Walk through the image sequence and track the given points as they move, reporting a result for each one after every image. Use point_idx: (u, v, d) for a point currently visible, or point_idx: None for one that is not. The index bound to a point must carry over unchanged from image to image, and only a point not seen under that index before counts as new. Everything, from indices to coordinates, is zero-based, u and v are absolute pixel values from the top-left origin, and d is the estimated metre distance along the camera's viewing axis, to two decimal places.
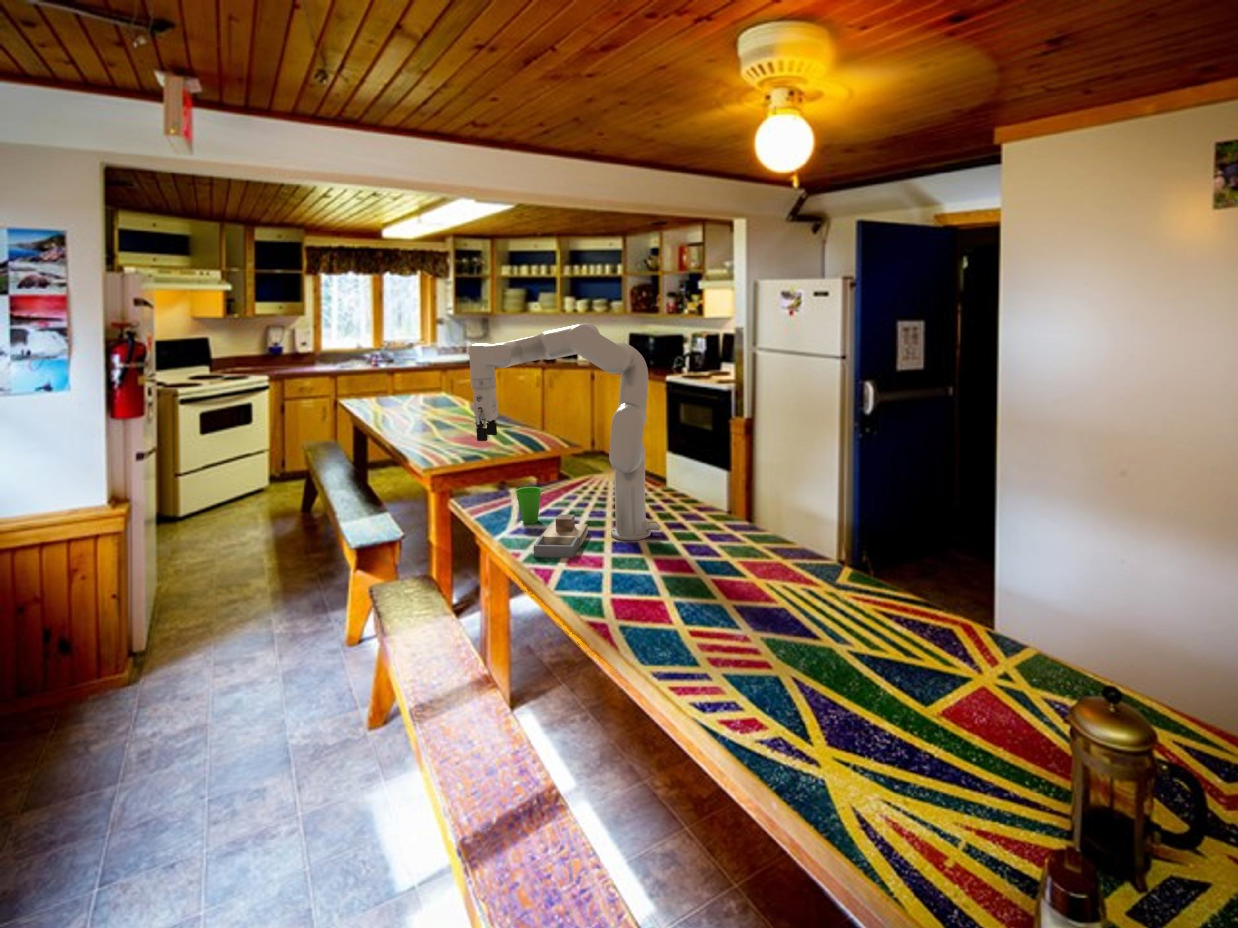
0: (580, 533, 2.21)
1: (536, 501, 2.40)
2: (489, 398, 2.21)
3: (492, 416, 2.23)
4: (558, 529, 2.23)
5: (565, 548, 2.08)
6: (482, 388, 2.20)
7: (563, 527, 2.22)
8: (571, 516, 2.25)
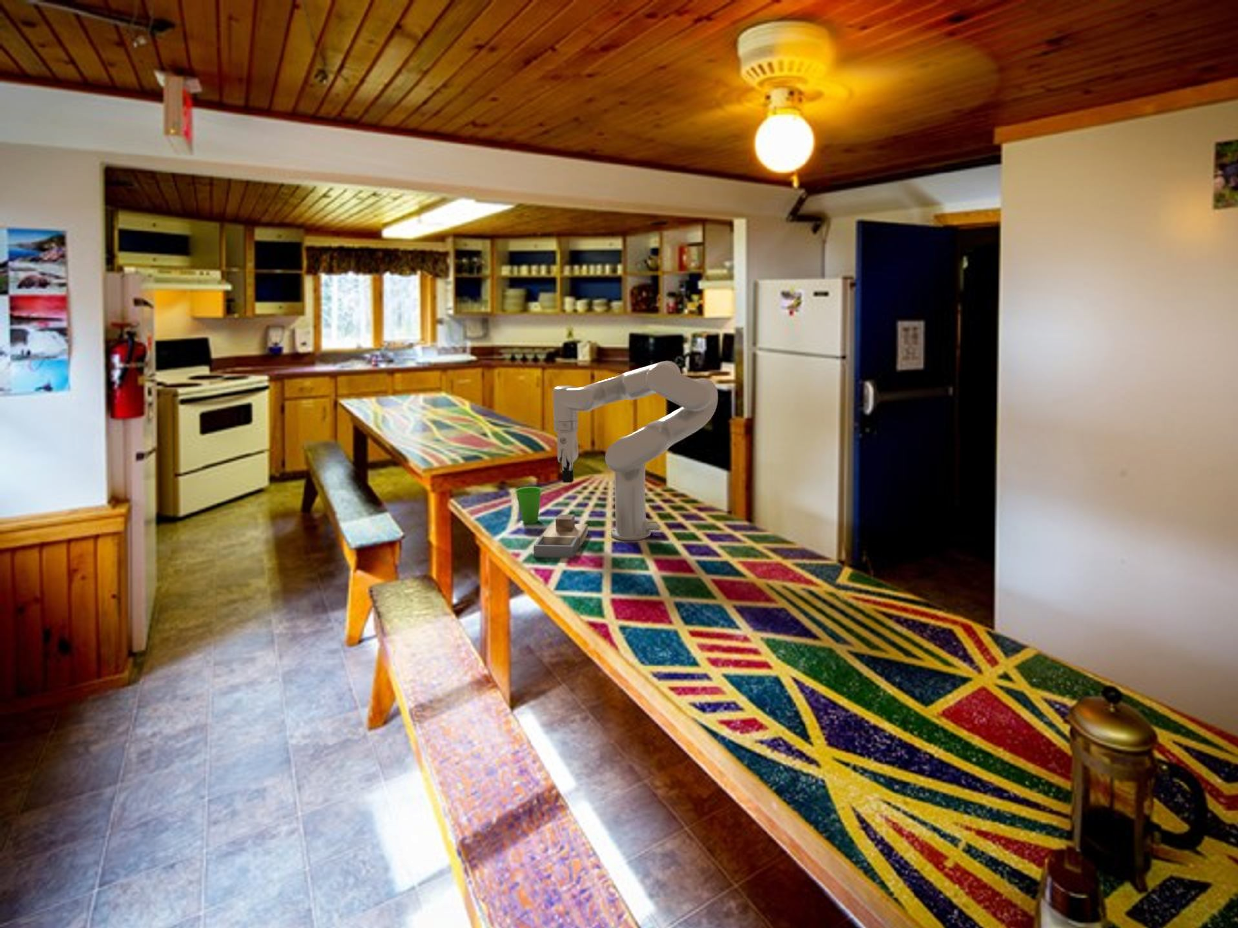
0: (580, 533, 2.21)
1: (536, 501, 2.40)
2: (572, 440, 2.23)
3: (574, 457, 2.26)
4: (558, 529, 2.23)
5: (565, 548, 2.08)
6: (566, 430, 2.22)
7: (563, 527, 2.22)
8: (571, 516, 2.25)
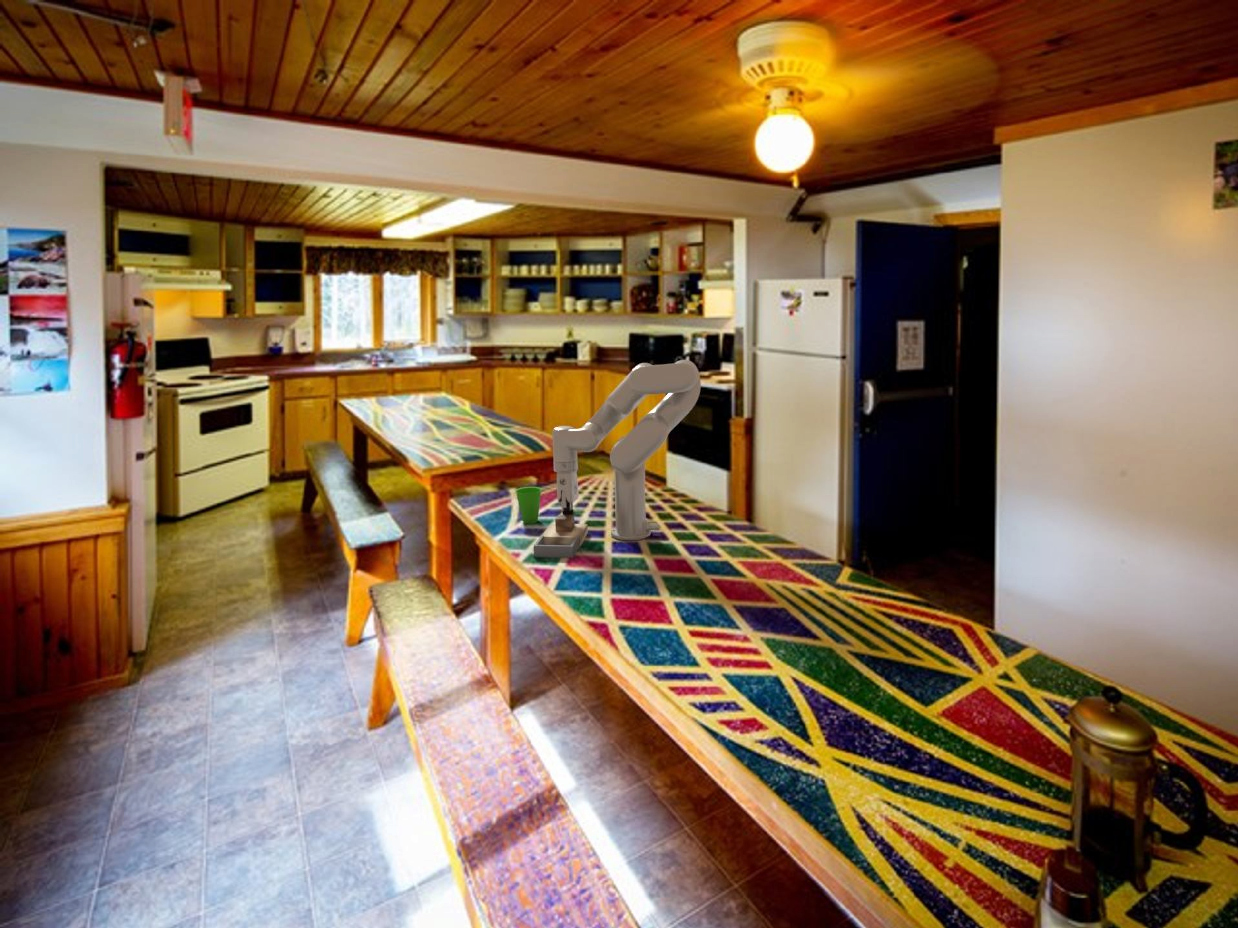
0: (580, 533, 2.21)
1: (536, 501, 2.40)
2: (572, 481, 2.23)
3: (574, 497, 2.25)
4: (558, 529, 2.23)
5: (565, 548, 2.08)
6: (565, 471, 2.22)
7: (563, 527, 2.22)
8: (571, 516, 2.24)
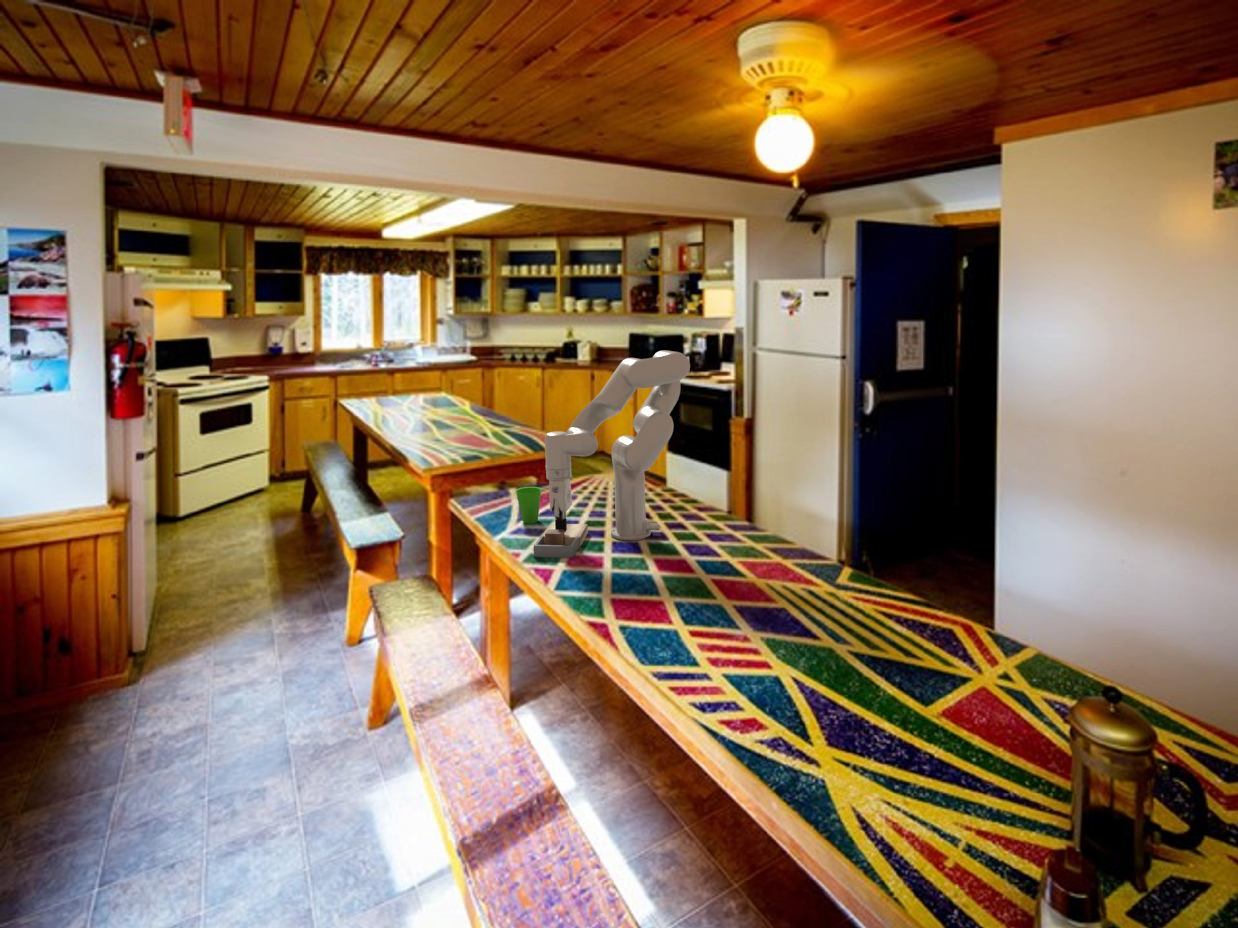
0: (580, 533, 2.21)
1: (536, 501, 2.40)
2: (565, 489, 2.13)
3: (567, 506, 2.16)
4: None
5: (565, 548, 2.08)
6: (558, 479, 2.12)
7: None
8: (559, 540, 2.13)
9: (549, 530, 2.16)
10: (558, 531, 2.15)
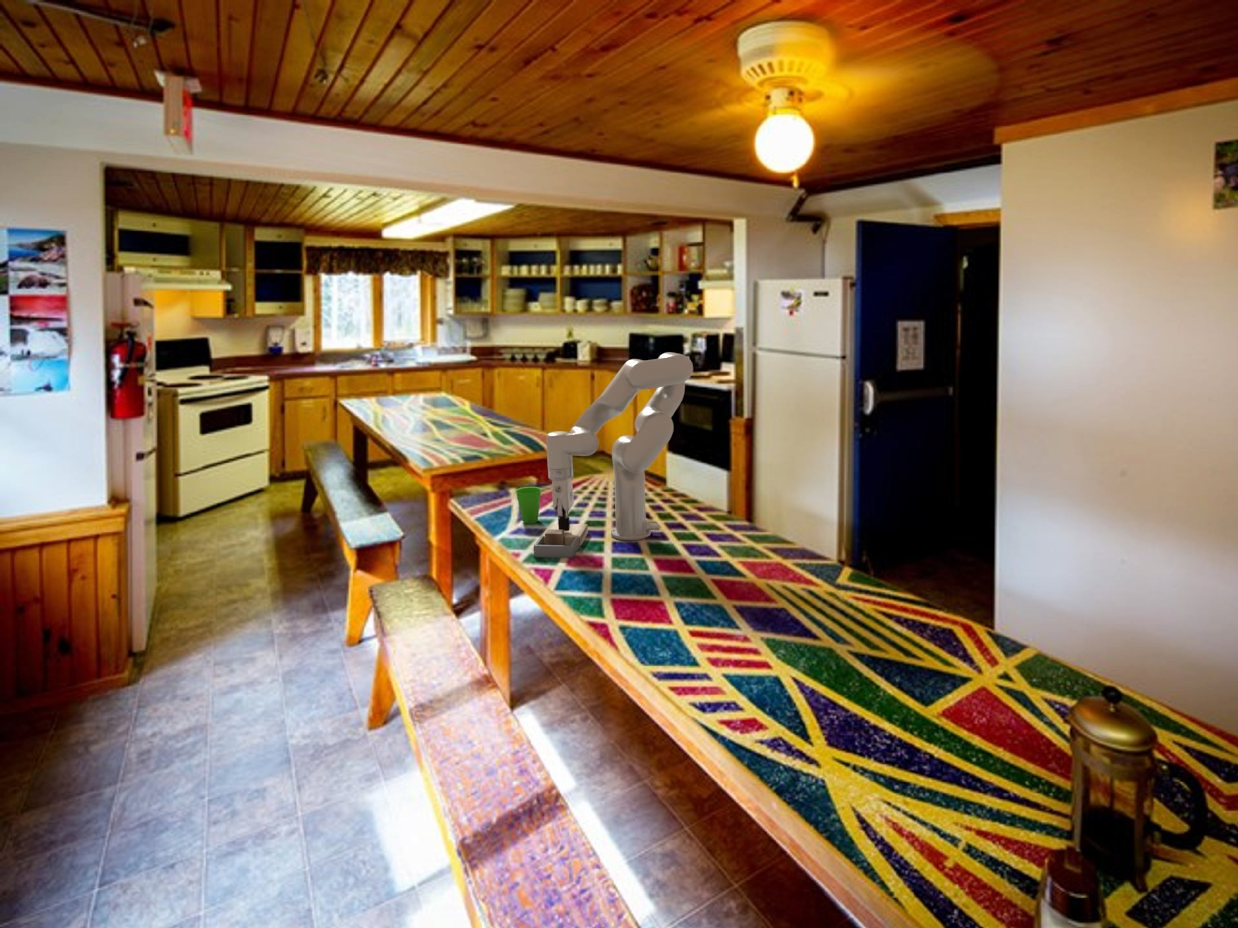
0: (580, 533, 2.21)
1: (536, 501, 2.40)
2: (568, 488, 2.15)
3: (570, 505, 2.18)
4: None
5: (565, 548, 2.08)
6: (561, 478, 2.14)
7: None
8: (559, 540, 2.13)
9: (549, 530, 2.16)
10: (558, 531, 2.15)
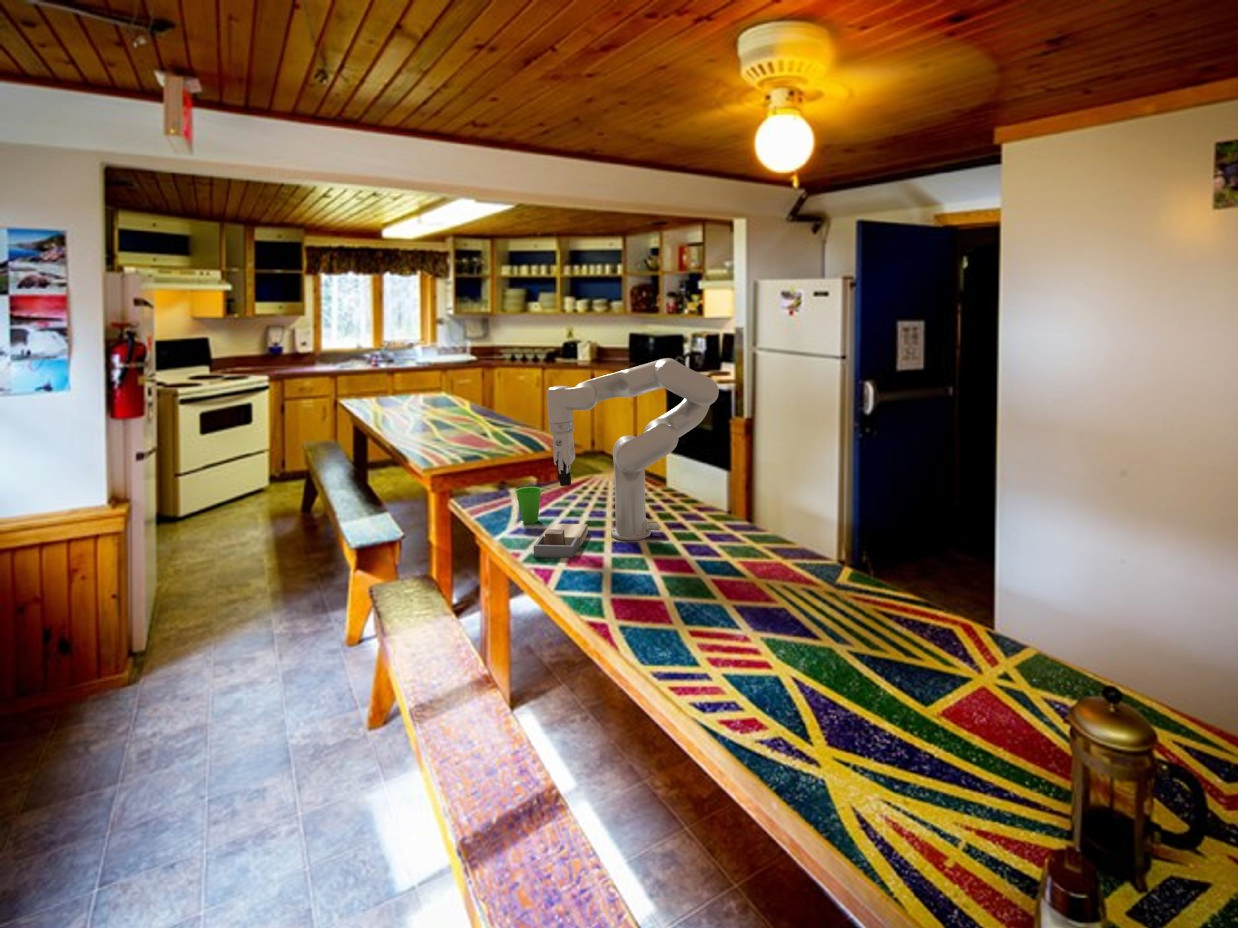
0: (580, 533, 2.21)
1: (536, 501, 2.40)
2: (568, 442, 2.16)
3: (571, 459, 2.19)
4: None
5: (565, 548, 2.08)
6: (561, 432, 2.15)
7: None
8: (559, 540, 2.13)
9: (549, 530, 2.16)
10: (558, 531, 2.15)
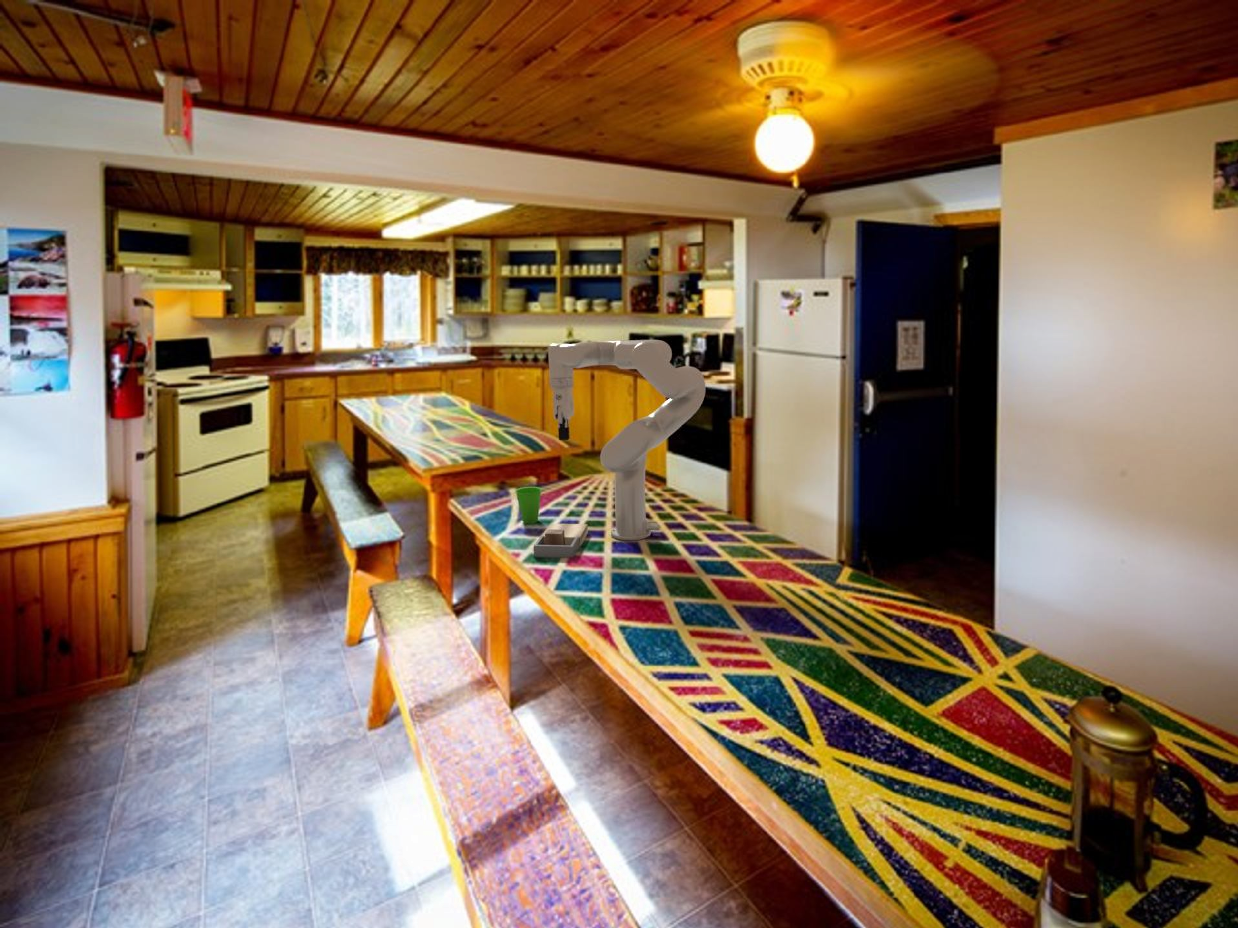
0: (580, 533, 2.21)
1: (536, 501, 2.40)
2: (568, 397, 2.25)
3: (570, 414, 2.28)
4: None
5: (565, 548, 2.08)
6: (561, 387, 2.24)
7: None
8: (559, 540, 2.13)
9: (549, 530, 2.16)
10: (558, 531, 2.15)
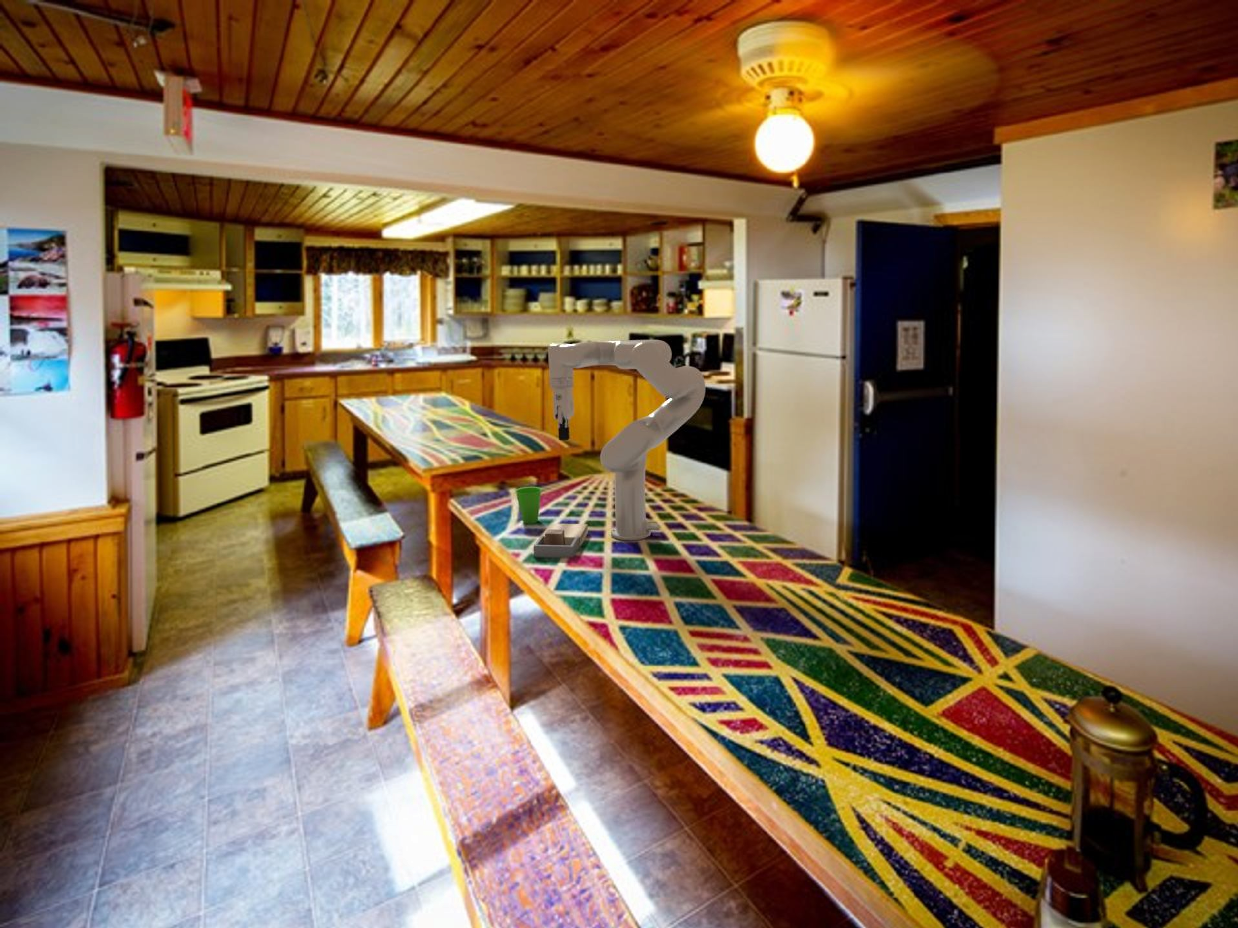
0: (580, 533, 2.21)
1: (536, 501, 2.40)
2: (568, 397, 2.25)
3: (570, 414, 2.28)
4: None
5: (565, 548, 2.08)
6: (561, 387, 2.24)
7: None
8: (559, 540, 2.13)
9: (549, 530, 2.16)
10: (558, 531, 2.15)
